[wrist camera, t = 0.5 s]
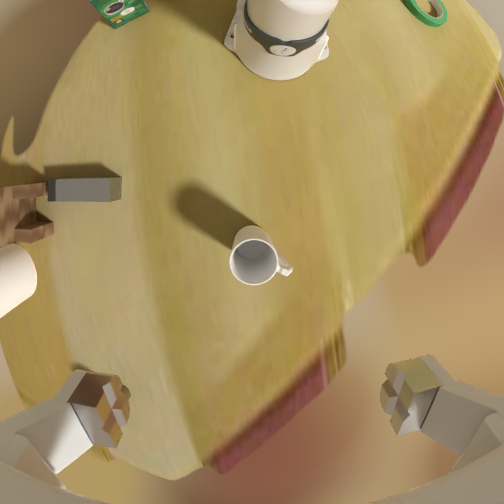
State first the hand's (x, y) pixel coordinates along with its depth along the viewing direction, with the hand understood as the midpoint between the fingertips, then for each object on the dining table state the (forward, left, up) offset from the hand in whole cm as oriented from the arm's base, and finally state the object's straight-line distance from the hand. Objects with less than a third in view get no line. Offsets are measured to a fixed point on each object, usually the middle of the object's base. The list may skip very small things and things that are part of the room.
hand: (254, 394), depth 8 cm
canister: (+17, -53, -45) cm, 71 cm away
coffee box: (-38, -26, -45) cm, 65 cm away
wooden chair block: (+2, -42, -45) cm, 61 cm away
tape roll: (-52, +36, -45) cm, 78 cm away
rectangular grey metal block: (-2, -30, -45) cm, 54 cm away
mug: (+7, +3, -45) cm, 46 cm away
